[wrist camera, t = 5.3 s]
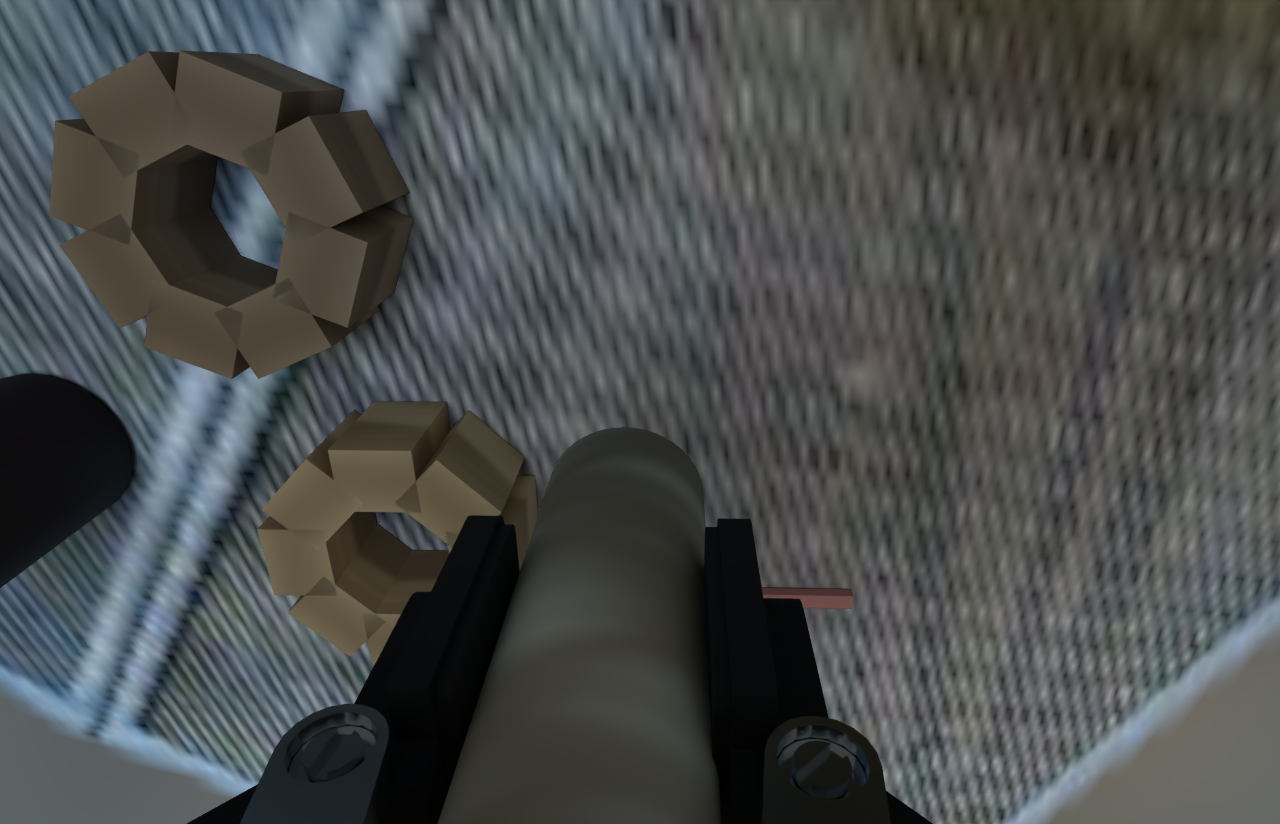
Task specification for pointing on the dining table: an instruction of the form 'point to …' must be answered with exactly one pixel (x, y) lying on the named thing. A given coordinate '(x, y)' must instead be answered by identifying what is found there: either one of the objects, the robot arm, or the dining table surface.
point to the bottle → (53, 466)
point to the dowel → (601, 653)
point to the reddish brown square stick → (814, 597)
